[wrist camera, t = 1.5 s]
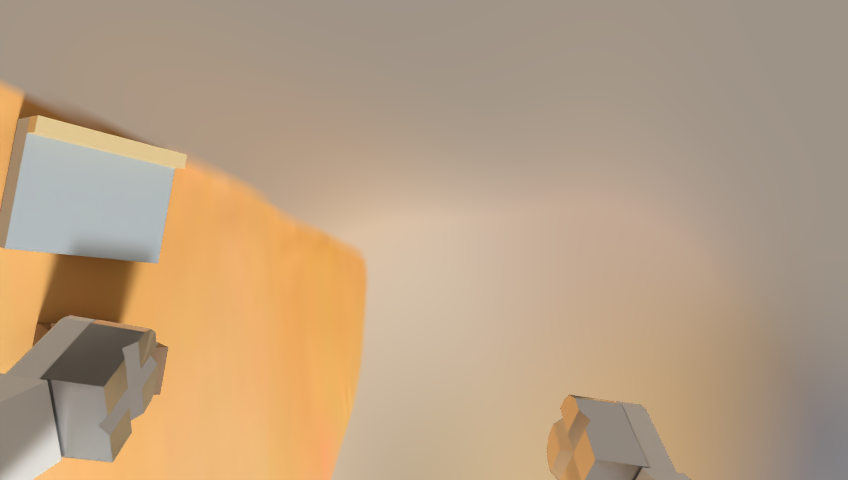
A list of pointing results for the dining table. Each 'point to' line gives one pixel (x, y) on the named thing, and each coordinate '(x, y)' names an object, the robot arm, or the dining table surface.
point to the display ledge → (85, 192)
